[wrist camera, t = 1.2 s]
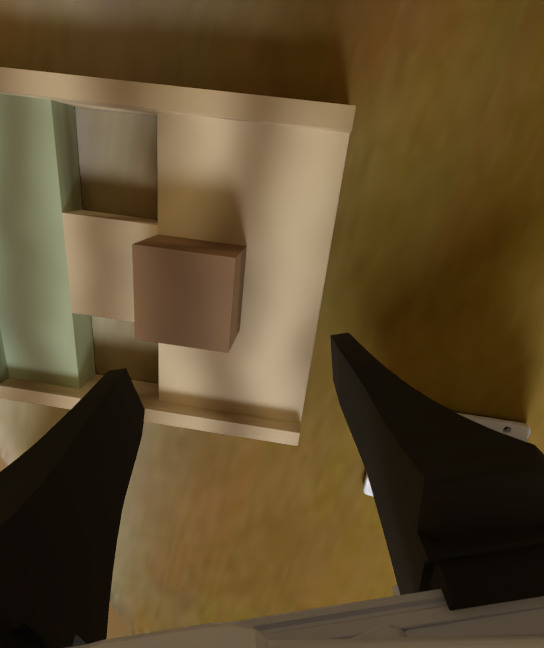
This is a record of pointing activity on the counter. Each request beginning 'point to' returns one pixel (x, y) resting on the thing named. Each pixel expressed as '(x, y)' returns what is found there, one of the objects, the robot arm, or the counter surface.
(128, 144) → the counter surface
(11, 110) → the beige flat tray
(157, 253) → the block
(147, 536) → the counter surface
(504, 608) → the robot arm
